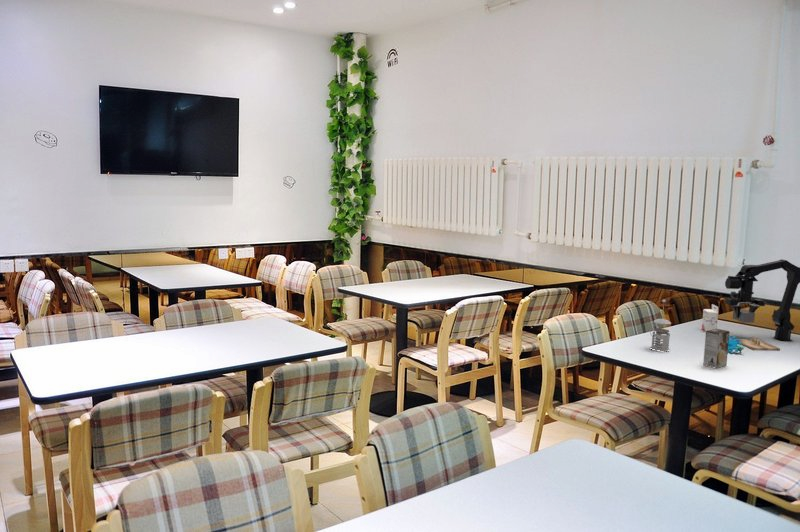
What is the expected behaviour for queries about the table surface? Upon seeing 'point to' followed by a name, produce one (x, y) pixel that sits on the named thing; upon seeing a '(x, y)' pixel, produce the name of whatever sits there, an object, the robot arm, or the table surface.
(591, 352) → the table surface
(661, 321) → the french press
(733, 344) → the gear
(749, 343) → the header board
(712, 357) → the coffee box
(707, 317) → the ink cartridge box
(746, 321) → the block
